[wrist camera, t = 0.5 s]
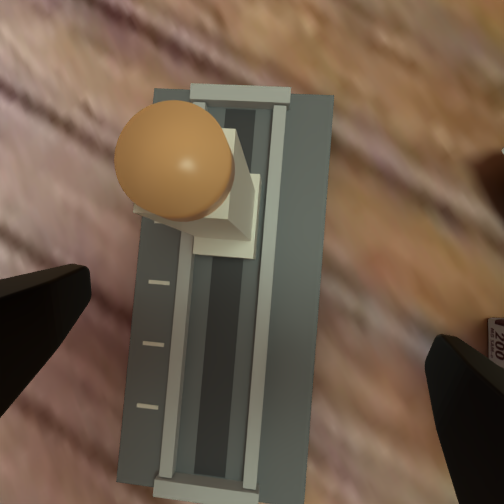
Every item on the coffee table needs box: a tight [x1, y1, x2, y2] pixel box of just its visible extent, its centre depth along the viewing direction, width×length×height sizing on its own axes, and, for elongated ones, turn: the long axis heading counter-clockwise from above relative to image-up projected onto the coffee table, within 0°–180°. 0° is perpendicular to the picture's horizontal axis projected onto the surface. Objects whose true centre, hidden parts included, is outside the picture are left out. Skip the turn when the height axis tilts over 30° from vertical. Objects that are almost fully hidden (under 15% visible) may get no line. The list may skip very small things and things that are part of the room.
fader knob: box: [114, 100, 262, 260], centre depth 16 cm, size 5×4×12 cm
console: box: [116, 83, 334, 504], centre depth 22 cm, size 26×12×2 cm, turn 175°
